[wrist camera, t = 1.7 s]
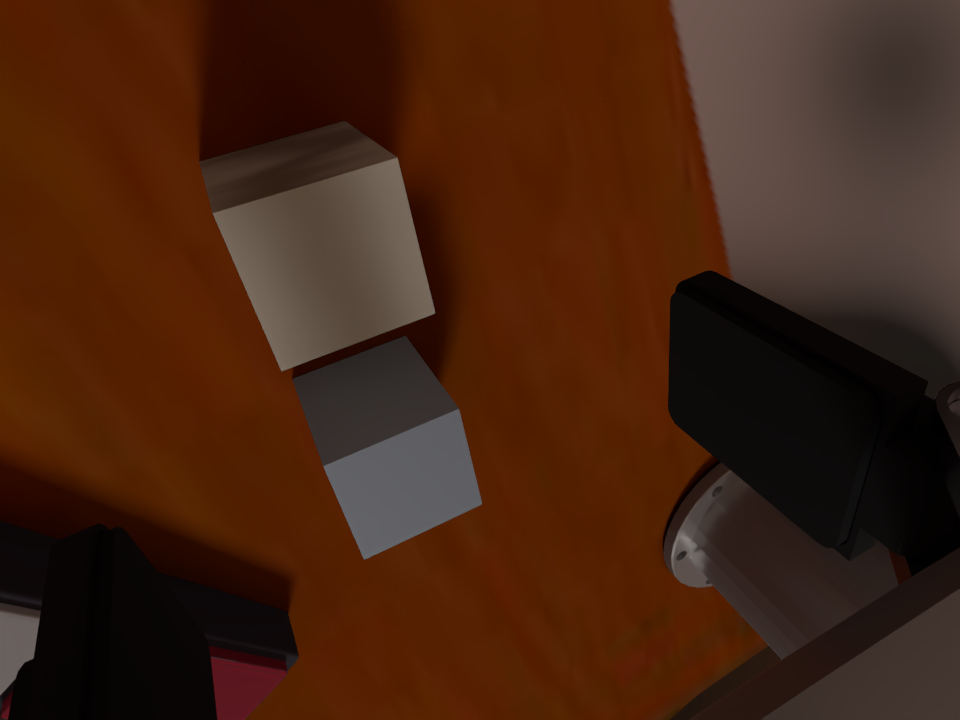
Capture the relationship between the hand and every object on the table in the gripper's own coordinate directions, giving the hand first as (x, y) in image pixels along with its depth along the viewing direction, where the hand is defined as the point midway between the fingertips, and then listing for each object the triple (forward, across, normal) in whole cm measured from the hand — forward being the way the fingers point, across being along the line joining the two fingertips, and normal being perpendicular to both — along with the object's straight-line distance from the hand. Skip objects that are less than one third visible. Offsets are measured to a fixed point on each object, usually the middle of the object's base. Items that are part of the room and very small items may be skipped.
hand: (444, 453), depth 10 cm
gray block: (+15, 0, +10) cm, 18 cm away
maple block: (+15, 0, +1) cm, 15 cm away
